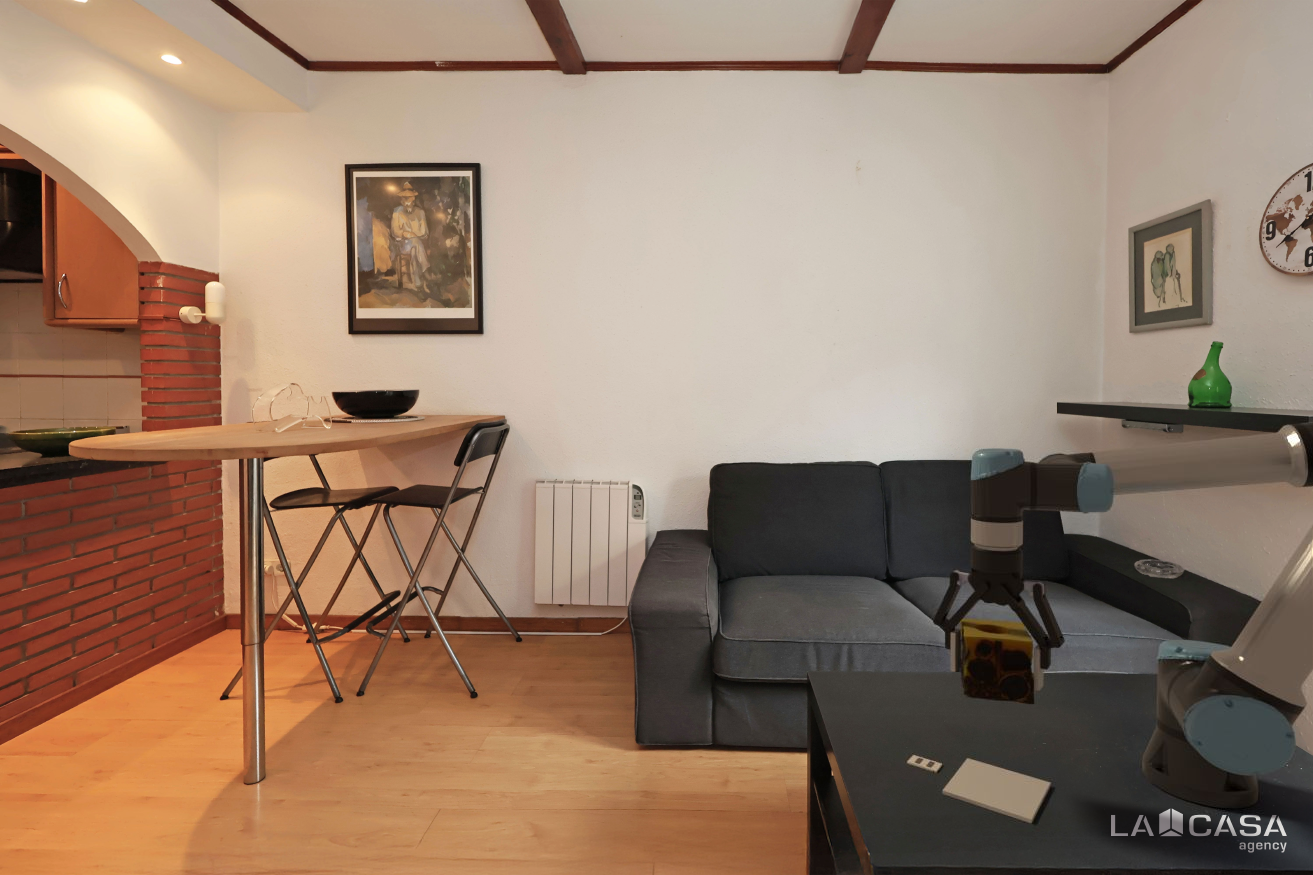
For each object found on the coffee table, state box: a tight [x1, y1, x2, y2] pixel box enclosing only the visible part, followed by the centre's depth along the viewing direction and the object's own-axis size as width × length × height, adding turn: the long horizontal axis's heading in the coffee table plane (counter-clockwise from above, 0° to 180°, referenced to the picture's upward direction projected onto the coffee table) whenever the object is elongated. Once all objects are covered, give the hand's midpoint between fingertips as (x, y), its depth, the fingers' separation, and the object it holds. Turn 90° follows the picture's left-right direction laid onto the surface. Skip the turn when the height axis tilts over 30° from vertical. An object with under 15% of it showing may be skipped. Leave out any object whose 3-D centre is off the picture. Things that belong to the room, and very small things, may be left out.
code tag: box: [906, 754, 943, 773], centre depth 126 cm, size 5×3×1 cm, turn 51°
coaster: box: [942, 757, 1052, 824], centre depth 118 cm, size 13×13×1 cm
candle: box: [960, 617, 1035, 705], centre depth 118 cm, size 10×10×10 cm
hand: (995, 678), depth 118 cm, fingers closed on candle, 12 cm apart
